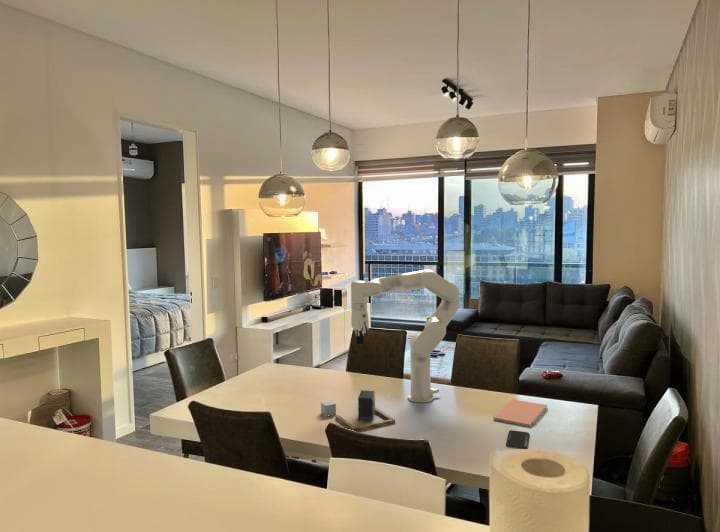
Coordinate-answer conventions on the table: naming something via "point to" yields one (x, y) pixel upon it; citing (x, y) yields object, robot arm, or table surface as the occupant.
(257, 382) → the table surface
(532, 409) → the notebook
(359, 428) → the frame
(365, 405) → the small box
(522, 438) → the phone
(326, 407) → the slate block
